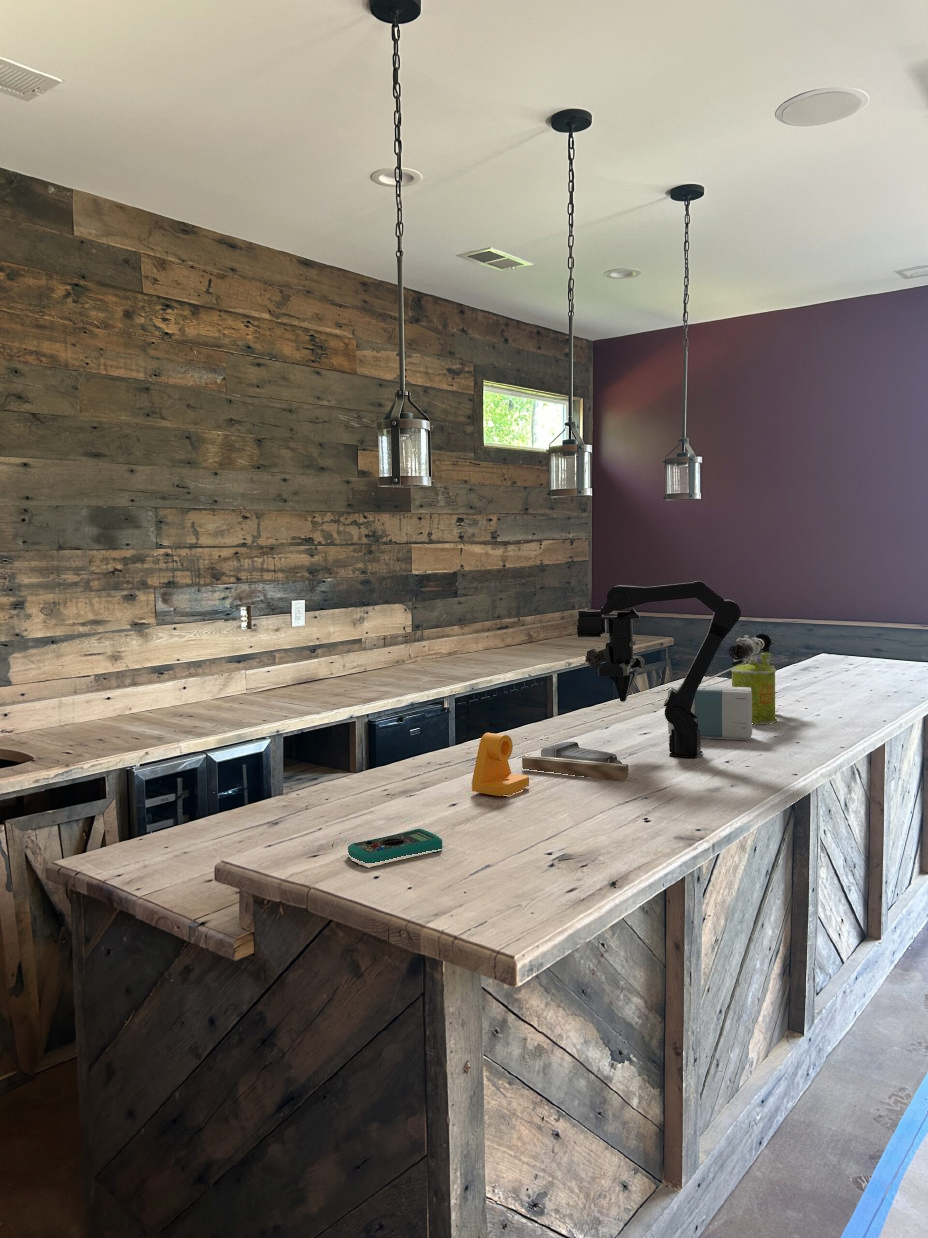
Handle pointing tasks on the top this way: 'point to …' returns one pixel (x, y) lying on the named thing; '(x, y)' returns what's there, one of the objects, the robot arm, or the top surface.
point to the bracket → (496, 767)
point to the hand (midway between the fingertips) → (622, 701)
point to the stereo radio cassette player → (722, 711)
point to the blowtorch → (755, 675)
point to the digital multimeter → (395, 846)
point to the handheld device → (578, 753)
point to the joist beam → (577, 767)
